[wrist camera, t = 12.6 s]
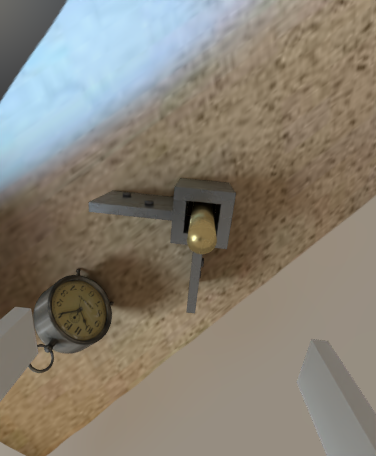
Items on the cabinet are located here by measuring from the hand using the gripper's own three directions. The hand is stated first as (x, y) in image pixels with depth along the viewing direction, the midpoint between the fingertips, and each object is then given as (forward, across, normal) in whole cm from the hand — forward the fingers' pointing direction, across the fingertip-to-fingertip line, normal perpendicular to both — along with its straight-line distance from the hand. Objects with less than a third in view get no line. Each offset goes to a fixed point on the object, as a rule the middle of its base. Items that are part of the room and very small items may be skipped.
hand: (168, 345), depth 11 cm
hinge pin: (+27, +2, +1) cm, 27 cm away
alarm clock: (+27, -16, -17) cm, 36 cm away
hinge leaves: (+27, -4, -4) cm, 27 cm away
